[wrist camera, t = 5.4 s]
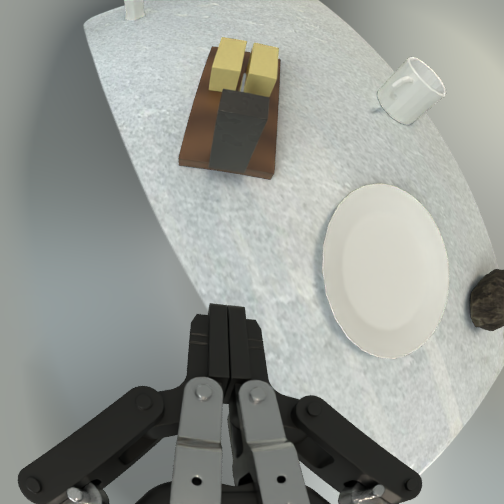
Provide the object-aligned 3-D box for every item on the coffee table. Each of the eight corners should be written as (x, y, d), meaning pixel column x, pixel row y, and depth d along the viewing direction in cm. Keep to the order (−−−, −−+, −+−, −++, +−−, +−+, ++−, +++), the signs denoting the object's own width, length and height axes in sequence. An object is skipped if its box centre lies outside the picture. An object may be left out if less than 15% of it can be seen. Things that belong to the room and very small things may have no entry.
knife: (244, 174, 27) (267, 119, 18) (208, 168, 26) (217, 110, 17) (252, 101, 29) (273, 45, 20) (222, 96, 28) (235, 37, 19)
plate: (373, 390, 27) (384, 394, 25) (275, 246, 28) (282, 241, 26) (454, 285, 33) (464, 283, 31) (386, 166, 34) (395, 159, 32)
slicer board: (270, 179, 29) (274, 173, 28) (178, 165, 27) (178, 158, 26) (277, 66, 33) (280, 59, 32) (210, 53, 31) (211, 46, 30)
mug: (353, 91, 36) (385, 53, 26) (394, 88, 39) (423, 58, 29) (383, 131, 35) (422, 96, 26) (419, 122, 38) (452, 95, 29)
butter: (267, 100, 30) (277, 79, 26) (208, 90, 28) (211, 67, 24) (270, 68, 31) (278, 48, 27) (217, 58, 30) (221, 36, 26)
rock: (460, 299, 32) (515, 293, 23) (476, 262, 37) (521, 253, 27) (470, 347, 32) (518, 346, 23) (486, 306, 37) (527, 302, 28)
